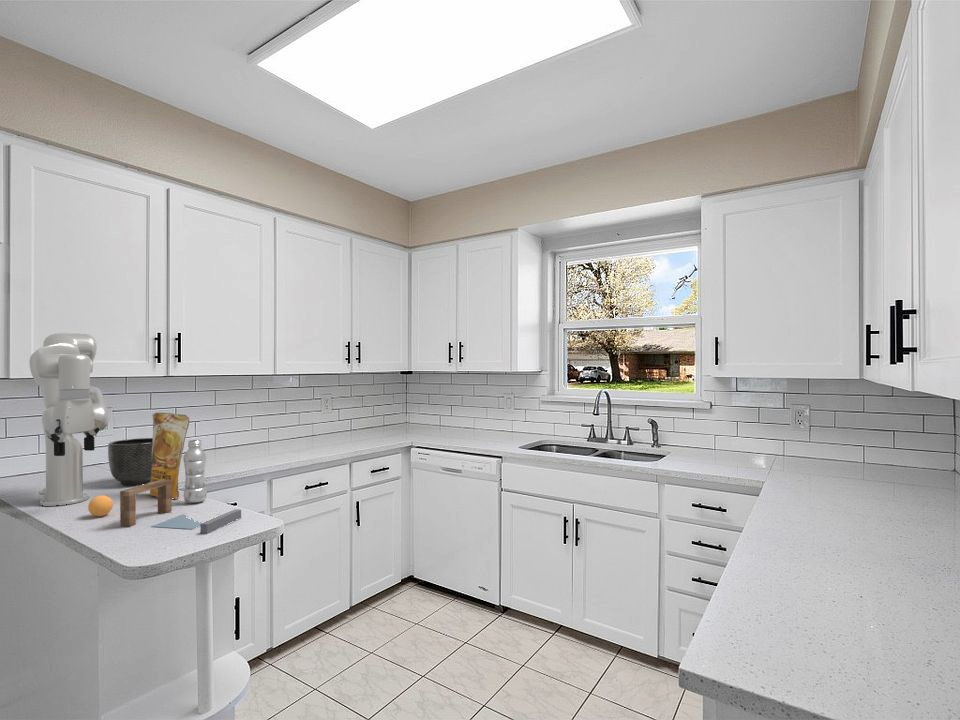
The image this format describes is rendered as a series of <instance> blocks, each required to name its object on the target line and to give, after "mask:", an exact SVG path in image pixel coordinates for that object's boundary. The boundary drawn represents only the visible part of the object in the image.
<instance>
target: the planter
mask: <svg viewBox="0 0 960 720" xmlns="http://www.w3.org/2000/svg"><path fill="white" fill-rule="evenodd" d="M152 439H153V437H145V438H144V437H143V438H140V437H139V438H129V439H121V440H115V441H110V442H109V443H107V459H108V465H109V471H110V473H111V476H112V477H113V478H114V479H115V480H116V481H117V482H120V484H121V486H122V485H123V487H137V486H136V485H139V486H141V485H142V484H147V483H151V471H152V445H153V444H152Z"/></svg>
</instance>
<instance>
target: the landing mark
mask: <svg viewBox="0 0 960 720" xmlns="http://www.w3.org/2000/svg"><path fill="white" fill-rule="evenodd" d="M184 514H185V513H183V514H179V515H178V516H174V517H172V518H170V519H166V520H164V521H162V522H159V523H156V524H154V525H151V528H160V529H162V528H163V529H177V530H192V529H193V530H194V528H195V529H197V528H199V527H198V526H200V524H201V522H200V523H199V522H198V521H196V522H194V520H193V519H192V518H191V520H190V519H188V518H186V515H184ZM187 517H188V516H187ZM196 527H197V528H196Z"/></svg>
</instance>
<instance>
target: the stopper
mask: <svg viewBox="0 0 960 720" xmlns="http://www.w3.org/2000/svg"><path fill="white" fill-rule="evenodd" d="M219 515H220V516H218V517H216V518H213V519H211V520H209V521H206V522H204V523H201V524H200V527H199V528H200V530H199V531H200V534H204V535H207V534H210V533H212V532H214V531H217V530H219V529H221V528H223V527H225V526H228V525H229V524H228V523H230V522H232V521H234V520H236V519H239V518H241V519H242V509H233V510H230V511H228V512H225V513H223V514H219ZM239 520H240V519H239ZM236 521H237V520H236ZM234 522H235V521H234ZM232 523H233V522H232ZM227 524H228V525H227ZM230 524H231V523H230ZM224 525H225V526H224ZM220 527H221V528H220ZM218 528H219V529H218ZM216 529H217V530H216Z"/></svg>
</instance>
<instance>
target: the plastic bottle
mask: <svg viewBox="0 0 960 720" xmlns="http://www.w3.org/2000/svg"><path fill="white" fill-rule="evenodd" d="M187 447H188V449H187V450H186V452H185V453H184V454H183V458H182V459H183V464H184V471H185V483H184V484H185V485H184V491H183V499H184V500H183V501H184V502H185V503H186V504H198V503H201V502H203V501H205V500H206V498H207V494H208V491H207V486H206V481H205V467H206V461H207V460H206V458H207V454H206V453H205V451H204V449H202V440H201V439H192V440H188V444H187ZM197 502H198V503H197Z"/></svg>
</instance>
